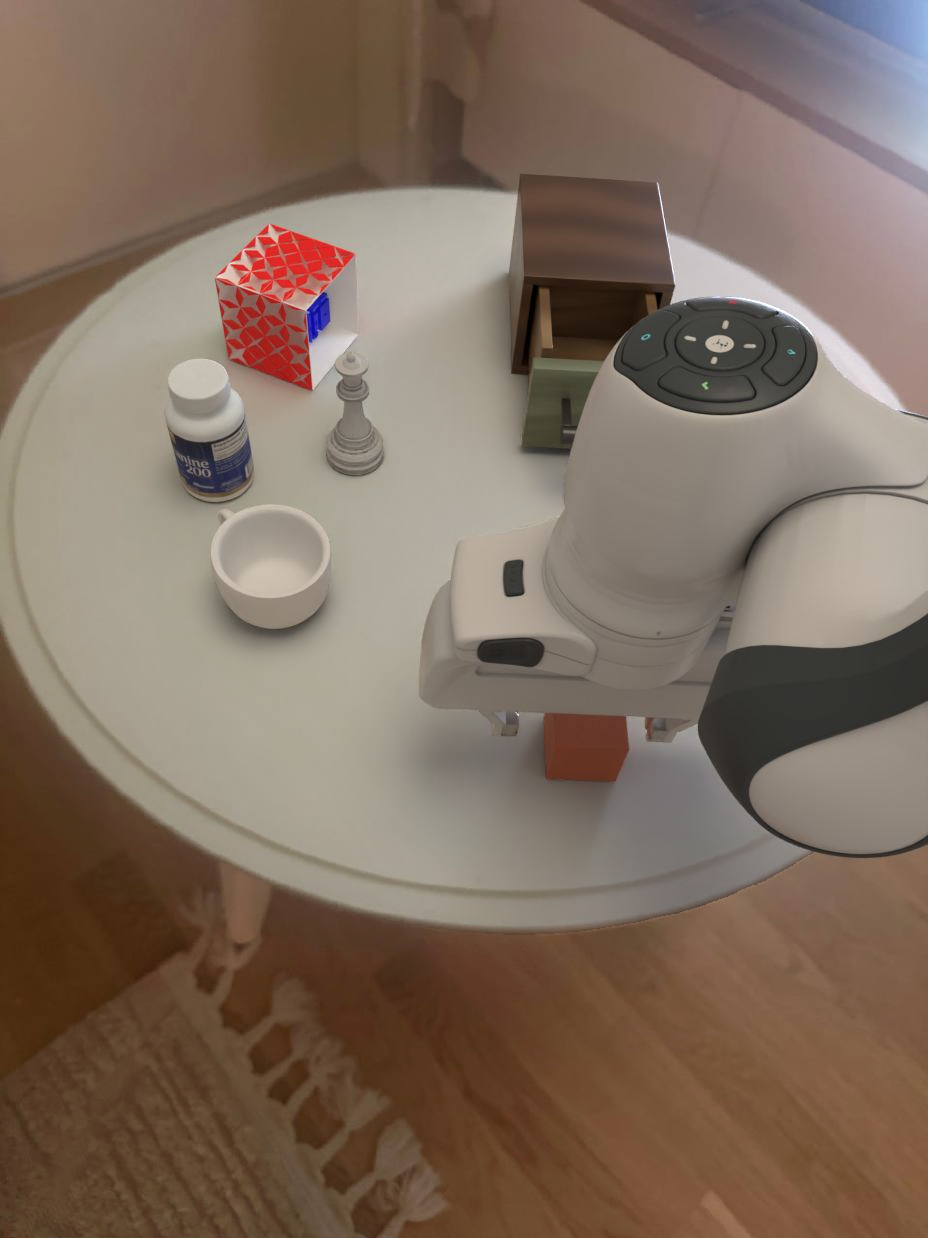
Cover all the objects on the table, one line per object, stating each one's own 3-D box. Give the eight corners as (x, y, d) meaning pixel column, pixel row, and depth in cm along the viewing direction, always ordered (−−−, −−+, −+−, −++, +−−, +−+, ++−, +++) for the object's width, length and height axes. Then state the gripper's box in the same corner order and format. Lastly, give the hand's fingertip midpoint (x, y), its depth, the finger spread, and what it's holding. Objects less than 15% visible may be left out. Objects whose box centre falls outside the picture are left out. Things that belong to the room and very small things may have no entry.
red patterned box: (278, 304, 85) (269, 222, 79) (359, 334, 84) (356, 253, 77) (228, 359, 81) (213, 277, 74) (312, 391, 79) (305, 311, 73)
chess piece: (336, 482, 74) (330, 381, 66) (319, 442, 76) (310, 339, 68) (391, 468, 75) (392, 367, 67) (373, 429, 77) (371, 326, 69)
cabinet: (648, 380, 83) (675, 284, 75) (511, 373, 82) (523, 275, 74) (634, 279, 90) (657, 181, 82) (508, 271, 90) (520, 172, 82)
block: (610, 720, 64) (623, 686, 60) (615, 782, 61) (629, 750, 58) (543, 717, 64) (552, 682, 60) (545, 779, 61) (555, 747, 58)
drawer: (660, 493, 74) (685, 418, 68) (523, 486, 74) (535, 409, 67) (640, 345, 84) (661, 267, 77) (518, 339, 83) (529, 259, 77)
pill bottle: (166, 476, 73) (139, 376, 65) (223, 440, 76) (203, 339, 68) (213, 516, 71) (190, 418, 63) (269, 478, 74) (255, 379, 66)
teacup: (357, 604, 68) (355, 556, 63) (266, 665, 65) (257, 619, 60) (271, 518, 72) (263, 467, 67) (181, 572, 68) (166, 522, 64)
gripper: (821, 557, 51) (739, 691, 62) (426, 537, 50) (417, 677, 61) (846, 660, 47) (755, 783, 59) (423, 641, 46) (413, 769, 58)
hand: (580, 729), depth 60 cm, fingers open, 8 cm apart
